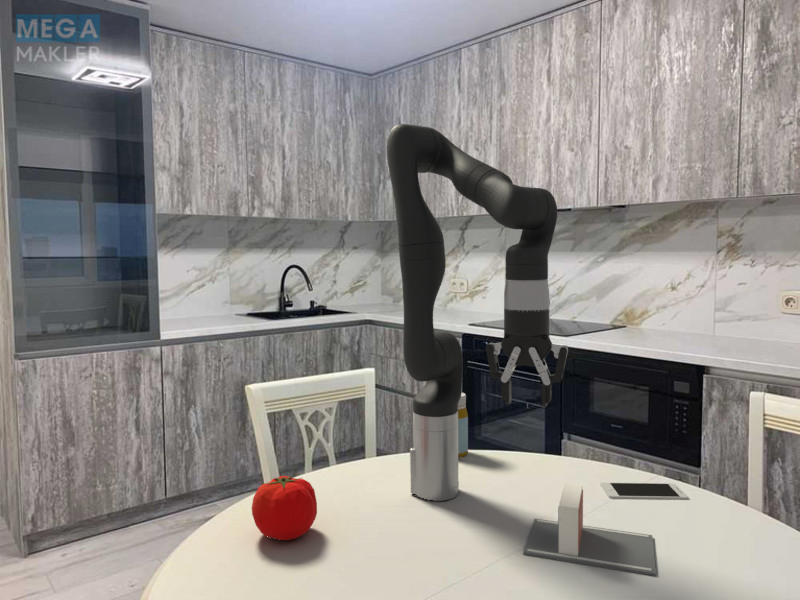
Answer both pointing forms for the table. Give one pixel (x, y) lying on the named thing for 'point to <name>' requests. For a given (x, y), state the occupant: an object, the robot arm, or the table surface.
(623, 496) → the smartphone
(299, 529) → the tomato
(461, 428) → the bottle
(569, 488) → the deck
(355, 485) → the table surface
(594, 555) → the mat
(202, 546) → the table surface
